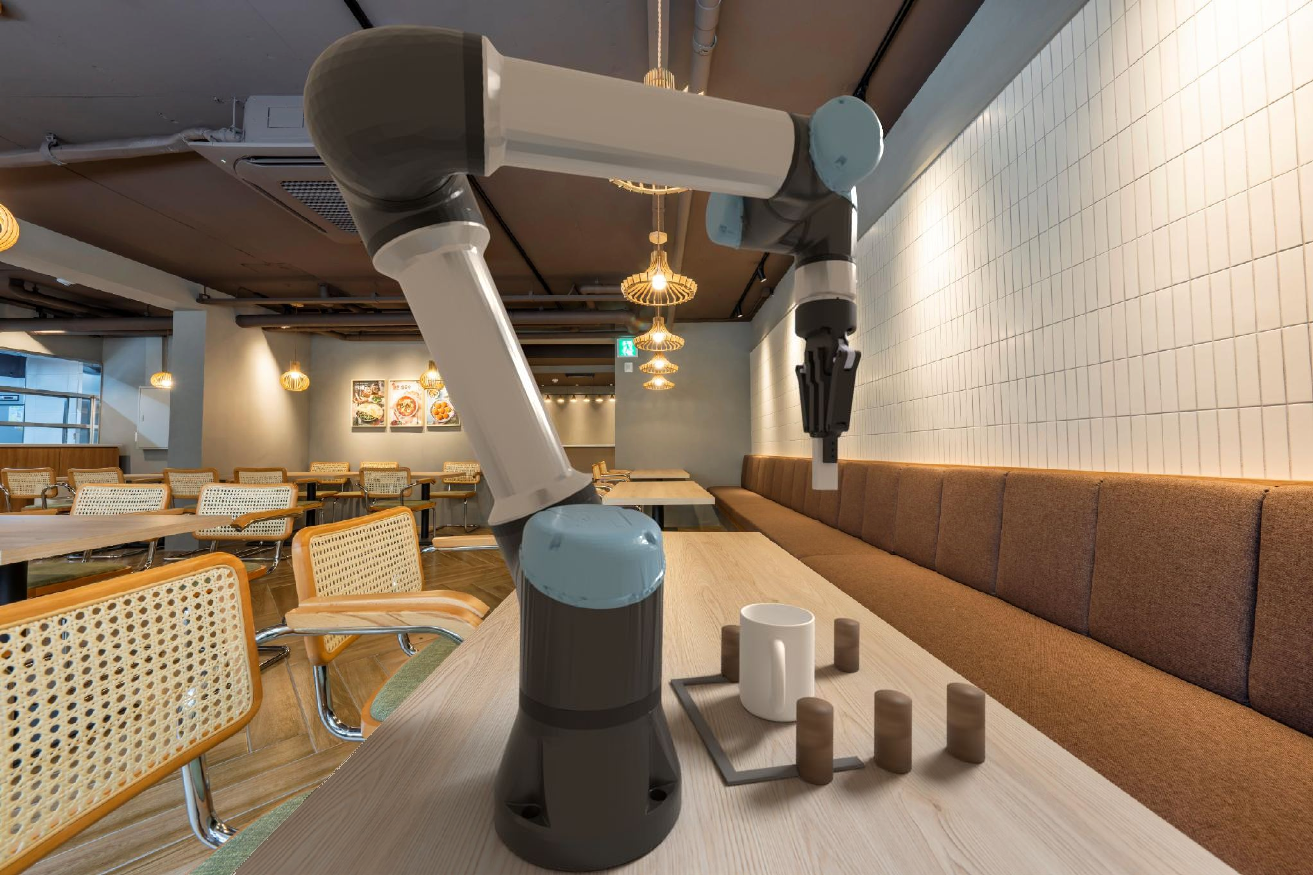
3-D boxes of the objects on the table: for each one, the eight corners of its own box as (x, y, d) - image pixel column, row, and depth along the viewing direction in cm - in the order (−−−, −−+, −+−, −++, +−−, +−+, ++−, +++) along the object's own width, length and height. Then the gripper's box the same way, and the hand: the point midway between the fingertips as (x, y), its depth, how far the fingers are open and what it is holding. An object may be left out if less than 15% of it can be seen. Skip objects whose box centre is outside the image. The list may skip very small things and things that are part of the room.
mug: (820, 748, 51) (820, 641, 51) (734, 737, 52) (735, 633, 53) (811, 692, 62) (811, 605, 62) (741, 685, 64) (742, 600, 64)
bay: (728, 785, 45) (728, 781, 45) (670, 681, 65) (670, 679, 65) (864, 767, 48) (864, 763, 48) (769, 673, 67) (769, 670, 67)
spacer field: (806, 786, 45) (807, 716, 45) (717, 672, 67) (717, 625, 68) (993, 760, 49) (993, 696, 49) (850, 661, 72) (850, 617, 72)
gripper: (882, 290, 61) (882, 493, 60) (827, 318, 74) (827, 485, 73) (822, 287, 59) (821, 494, 59) (777, 315, 72) (776, 485, 72)
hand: (824, 489), depth 66 cm, fingers closed
